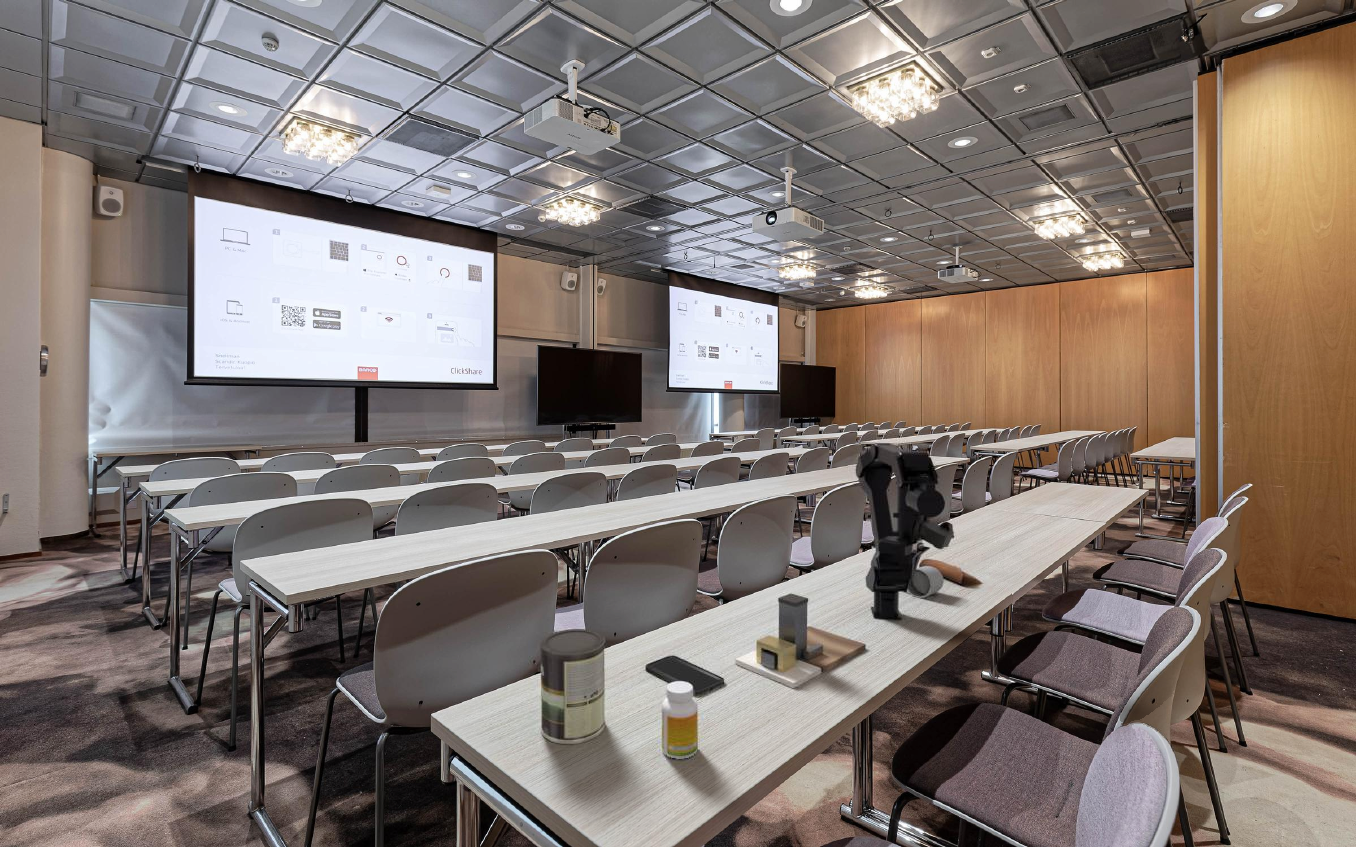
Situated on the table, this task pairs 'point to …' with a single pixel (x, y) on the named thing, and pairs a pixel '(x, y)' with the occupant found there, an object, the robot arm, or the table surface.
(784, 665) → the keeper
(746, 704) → the table surface
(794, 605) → the dark square pillar
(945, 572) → the orange brown tapered rod
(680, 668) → the phone
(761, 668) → the jamb plate
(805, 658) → the guide rails
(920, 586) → the ceramic mug
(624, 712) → the table surface
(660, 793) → the table surface
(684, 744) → the supplement bottle
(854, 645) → the door leaf
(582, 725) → the coffee can
